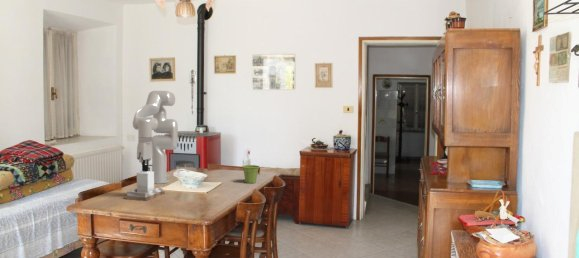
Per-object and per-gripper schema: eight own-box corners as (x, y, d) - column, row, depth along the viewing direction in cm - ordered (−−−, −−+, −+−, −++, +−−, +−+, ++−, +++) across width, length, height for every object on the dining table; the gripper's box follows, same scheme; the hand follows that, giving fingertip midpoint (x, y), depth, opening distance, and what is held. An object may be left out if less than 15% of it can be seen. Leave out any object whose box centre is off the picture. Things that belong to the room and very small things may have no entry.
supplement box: (154, 192, 277) (154, 171, 276) (147, 195, 270) (147, 173, 269) (143, 191, 279) (143, 170, 278) (136, 194, 272) (136, 172, 271)
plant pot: (258, 184, 315) (258, 167, 314) (241, 183, 315) (241, 167, 314) (260, 181, 327) (260, 165, 326) (243, 180, 327) (243, 164, 326)
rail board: (144, 191, 285) (144, 185, 285) (164, 193, 282) (164, 186, 282) (124, 198, 266) (124, 191, 266) (146, 200, 263) (146, 193, 262)
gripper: (146, 138, 280) (146, 168, 281) (131, 140, 265) (132, 173, 267) (157, 138, 278) (157, 169, 279) (143, 141, 263) (144, 173, 265)
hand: (145, 171), depth 273 cm, fingers closed
